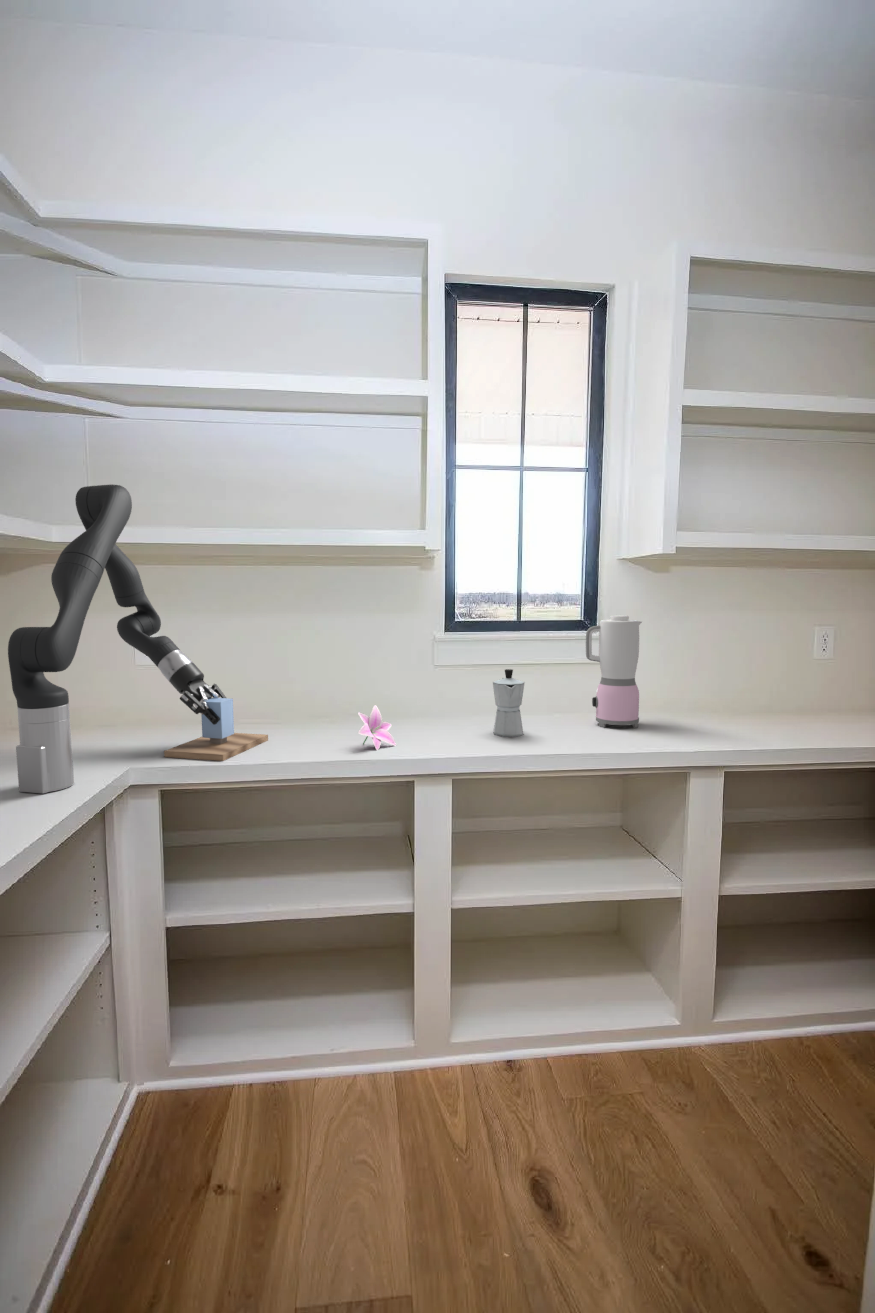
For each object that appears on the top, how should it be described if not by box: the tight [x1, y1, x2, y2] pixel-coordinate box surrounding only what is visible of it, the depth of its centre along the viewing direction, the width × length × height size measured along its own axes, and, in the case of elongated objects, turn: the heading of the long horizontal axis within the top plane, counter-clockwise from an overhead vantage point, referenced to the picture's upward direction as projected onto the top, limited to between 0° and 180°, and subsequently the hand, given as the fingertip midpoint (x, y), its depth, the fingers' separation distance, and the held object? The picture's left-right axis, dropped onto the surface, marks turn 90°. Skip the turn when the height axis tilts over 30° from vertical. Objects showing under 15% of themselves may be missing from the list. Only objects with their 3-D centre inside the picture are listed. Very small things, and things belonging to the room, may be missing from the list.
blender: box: [585, 614, 643, 729], centre depth 200 cm, size 16×12×32 cm
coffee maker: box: [492, 668, 526, 738], centre depth 191 cm, size 15×9×18 cm, turn 0°
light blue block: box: [200, 697, 235, 739], centre depth 175 cm, size 6×6×9 cm
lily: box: [357, 704, 398, 751], centre depth 177 cm, size 12×12×10 cm
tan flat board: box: [163, 732, 269, 762], centre depth 175 cm, size 22×16×8 cm
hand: (224, 719), depth 174 cm, fingers closed on light blue block, 5 cm apart
